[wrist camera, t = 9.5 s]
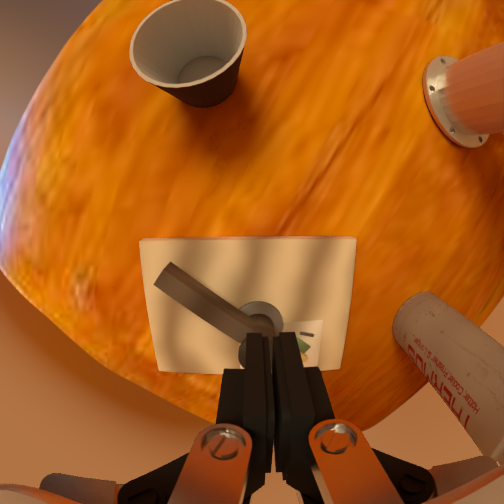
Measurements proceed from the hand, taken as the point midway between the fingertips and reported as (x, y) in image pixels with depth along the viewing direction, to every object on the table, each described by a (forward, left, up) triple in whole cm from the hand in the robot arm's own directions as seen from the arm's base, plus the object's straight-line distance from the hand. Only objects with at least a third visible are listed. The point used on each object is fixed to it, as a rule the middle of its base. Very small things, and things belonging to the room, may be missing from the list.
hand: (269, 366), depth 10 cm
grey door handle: (+2, +7, -18) cm, 19 cm away
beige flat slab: (+1, +7, -20) cm, 21 cm away
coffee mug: (+5, -19, -20) cm, 28 cm away
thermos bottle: (-21, +10, -20) cm, 31 cm away
